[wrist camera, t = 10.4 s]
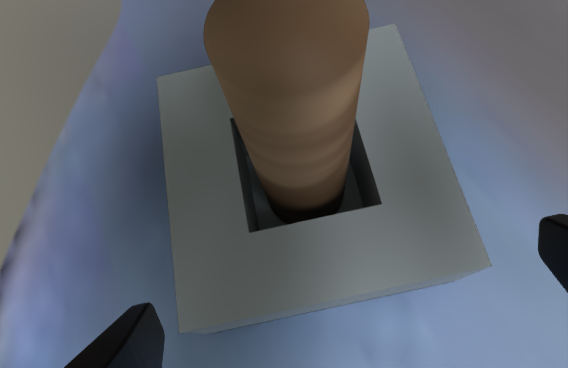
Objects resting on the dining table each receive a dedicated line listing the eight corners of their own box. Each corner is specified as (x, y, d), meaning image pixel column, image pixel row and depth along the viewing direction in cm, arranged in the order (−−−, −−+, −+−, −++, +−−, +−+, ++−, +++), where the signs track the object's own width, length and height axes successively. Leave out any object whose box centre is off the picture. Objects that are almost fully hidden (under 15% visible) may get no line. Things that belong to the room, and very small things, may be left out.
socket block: (453, 281, 20) (492, 265, 16) (211, 333, 20) (179, 332, 16) (381, 80, 25) (395, 23, 20) (186, 124, 25) (156, 77, 21)
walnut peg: (324, 241, 21) (328, 118, 9) (254, 209, 22) (173, 62, 10) (355, 173, 22) (393, -15, 10) (287, 146, 23) (250, -52, 11)
